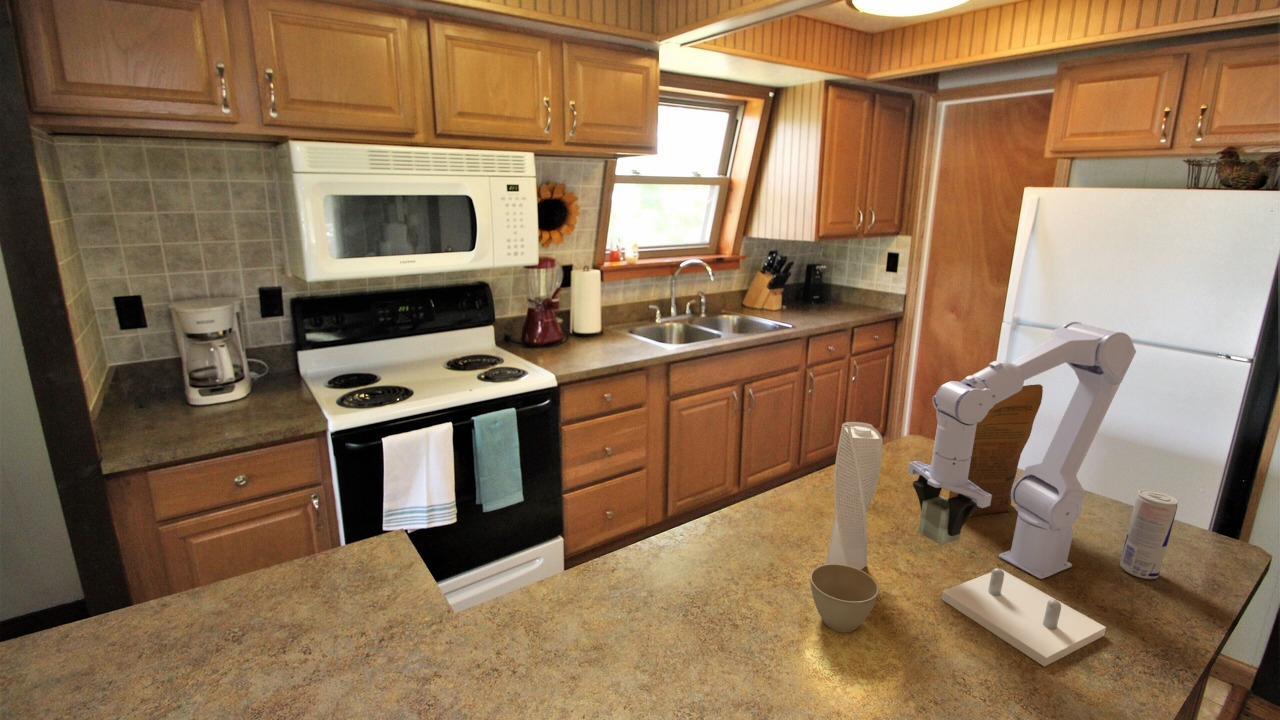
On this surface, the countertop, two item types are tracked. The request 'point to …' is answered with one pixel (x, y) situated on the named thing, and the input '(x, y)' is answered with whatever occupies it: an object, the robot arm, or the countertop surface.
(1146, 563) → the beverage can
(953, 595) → the jig board
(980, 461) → the pancake mix bag
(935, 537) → the square socket block
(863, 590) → the flower pot
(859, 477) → the skyscraper
